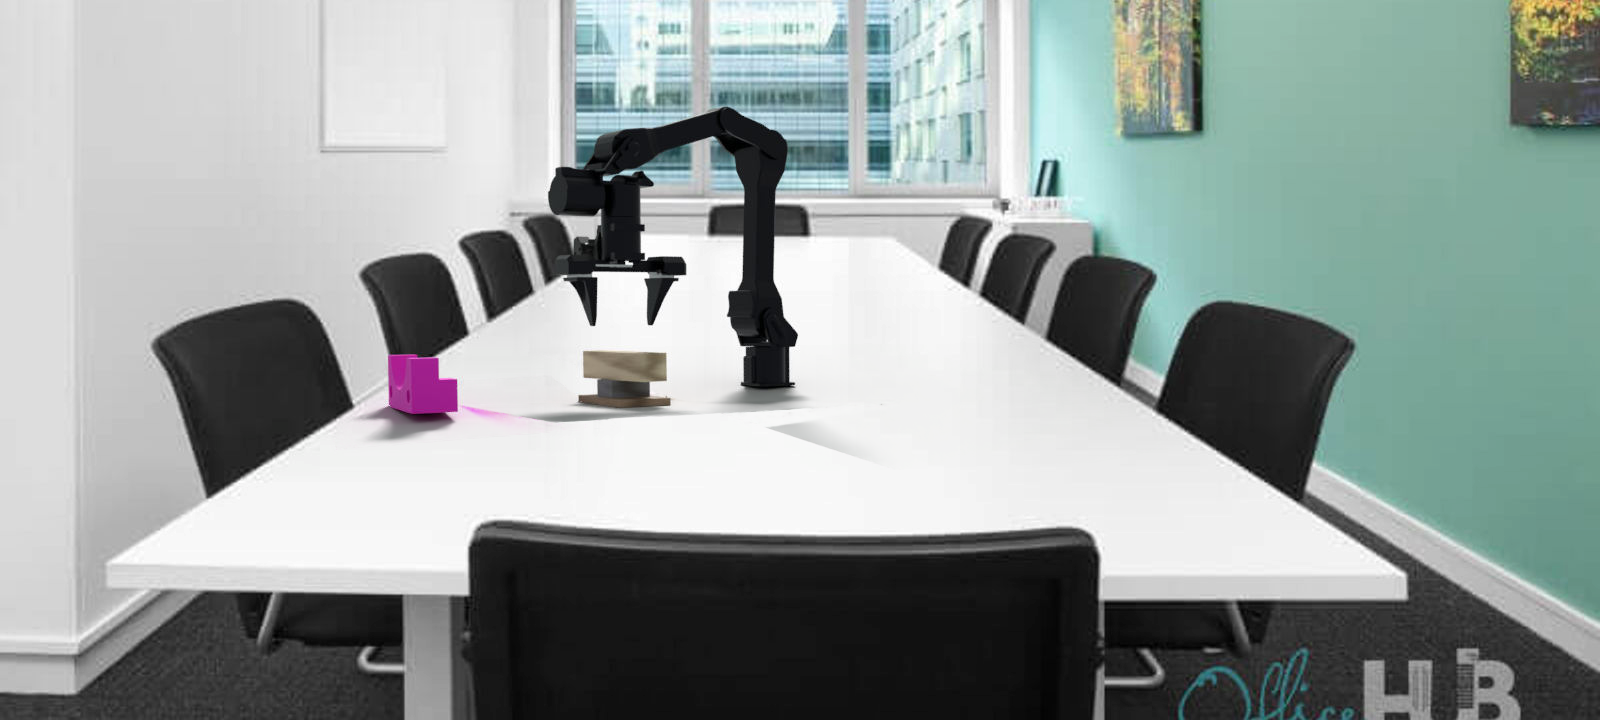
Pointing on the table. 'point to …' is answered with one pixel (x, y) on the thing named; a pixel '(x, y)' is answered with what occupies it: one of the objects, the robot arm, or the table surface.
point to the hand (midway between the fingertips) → (621, 325)
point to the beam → (625, 365)
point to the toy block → (420, 385)
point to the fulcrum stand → (623, 394)
